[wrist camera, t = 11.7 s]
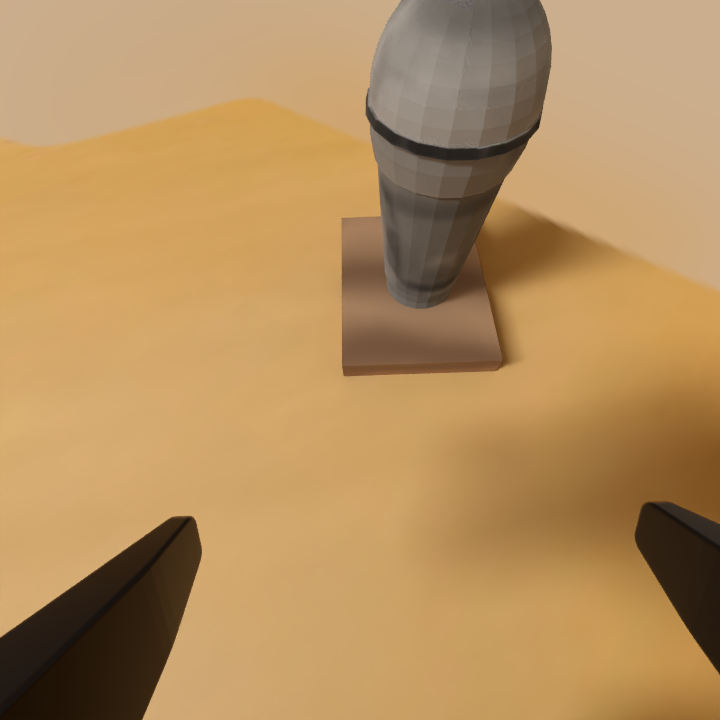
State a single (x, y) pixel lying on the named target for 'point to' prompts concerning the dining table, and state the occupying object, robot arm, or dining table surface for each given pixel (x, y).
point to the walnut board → (410, 316)
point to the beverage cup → (450, 128)
